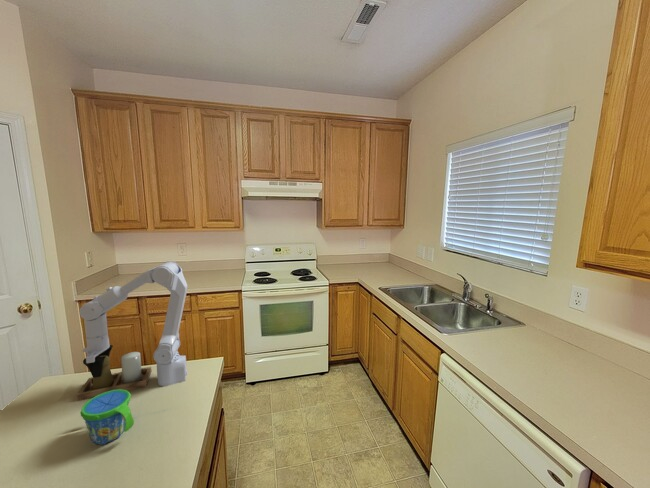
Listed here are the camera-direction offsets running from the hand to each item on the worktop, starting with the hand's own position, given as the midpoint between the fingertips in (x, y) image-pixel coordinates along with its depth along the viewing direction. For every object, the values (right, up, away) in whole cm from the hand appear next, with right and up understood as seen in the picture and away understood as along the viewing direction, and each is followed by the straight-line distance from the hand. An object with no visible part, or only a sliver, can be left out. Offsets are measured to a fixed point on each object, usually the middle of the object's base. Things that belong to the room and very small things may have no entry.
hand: (100, 372), depth 94 cm
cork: (0, -6, +1) cm, 6 cm away
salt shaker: (+8, -6, +4) cm, 11 cm away
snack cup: (+18, -9, -18) cm, 27 cm away
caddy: (+4, -7, +3) cm, 8 cm away
